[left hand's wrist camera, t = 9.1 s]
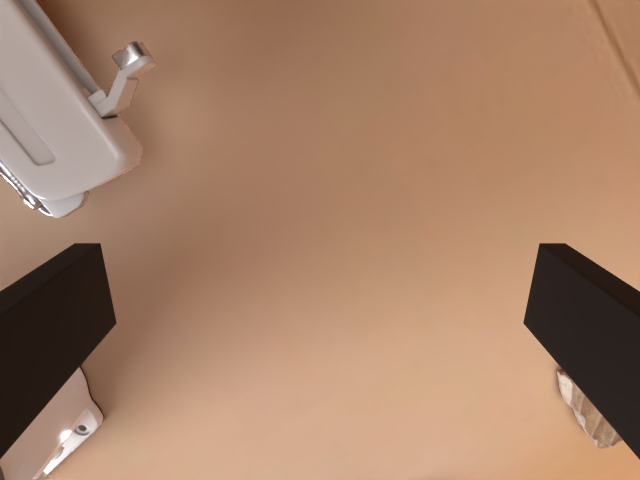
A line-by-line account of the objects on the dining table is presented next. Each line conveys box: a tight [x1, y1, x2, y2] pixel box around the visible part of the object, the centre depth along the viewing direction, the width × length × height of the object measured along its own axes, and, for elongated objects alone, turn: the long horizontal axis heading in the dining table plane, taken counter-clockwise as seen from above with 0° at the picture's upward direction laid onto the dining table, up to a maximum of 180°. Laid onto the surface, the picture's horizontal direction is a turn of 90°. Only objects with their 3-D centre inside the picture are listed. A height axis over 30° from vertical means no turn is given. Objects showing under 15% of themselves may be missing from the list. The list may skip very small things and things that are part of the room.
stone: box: [557, 369, 623, 448], centre depth 42 cm, size 13×12×3 cm
